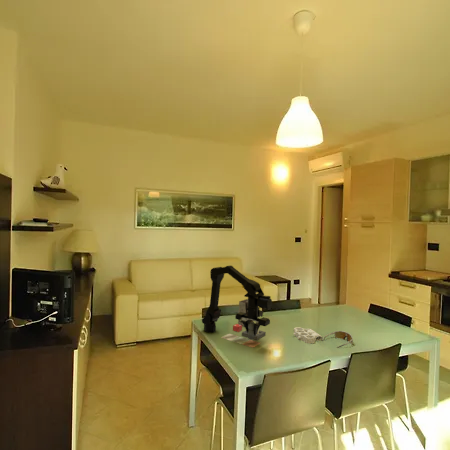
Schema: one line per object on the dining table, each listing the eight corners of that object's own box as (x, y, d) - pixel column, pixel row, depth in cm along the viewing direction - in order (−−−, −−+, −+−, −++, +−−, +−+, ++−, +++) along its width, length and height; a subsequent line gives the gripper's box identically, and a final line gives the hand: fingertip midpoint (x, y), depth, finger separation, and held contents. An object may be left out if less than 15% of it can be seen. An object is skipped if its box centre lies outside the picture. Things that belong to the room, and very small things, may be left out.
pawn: (245, 338, 167) (246, 322, 166) (250, 335, 170) (250, 320, 170) (252, 340, 164) (253, 324, 163) (257, 337, 167) (258, 322, 167)
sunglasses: (357, 344, 174) (357, 336, 173) (339, 353, 166) (338, 344, 166) (337, 336, 186) (337, 328, 186) (319, 343, 179) (319, 335, 178)
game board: (219, 339, 174) (219, 337, 173) (229, 334, 182) (229, 332, 182) (252, 350, 161) (252, 348, 161) (262, 344, 169) (262, 342, 169)
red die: (232, 332, 186) (232, 325, 186) (236, 330, 189) (236, 323, 189) (238, 333, 184) (238, 326, 184) (241, 331, 187) (242, 325, 187)
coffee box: (246, 328, 193) (247, 303, 193) (237, 326, 197) (238, 301, 196) (253, 325, 200) (254, 300, 200) (245, 322, 204) (246, 298, 204)
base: (241, 337, 178) (241, 332, 178) (250, 332, 186) (250, 328, 186) (256, 342, 172) (256, 336, 172) (265, 337, 180) (265, 331, 180)
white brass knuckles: (325, 343, 175) (302, 344, 171) (309, 331, 192) (288, 333, 189) (326, 337, 175) (302, 338, 171) (310, 326, 192) (288, 327, 189)
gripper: (275, 306, 168) (274, 334, 168) (246, 299, 179) (245, 326, 179) (265, 310, 159) (264, 340, 159) (235, 303, 170) (234, 331, 170)
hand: (251, 334), depth 167 cm, fingers closed on pawn, 4 cm apart
